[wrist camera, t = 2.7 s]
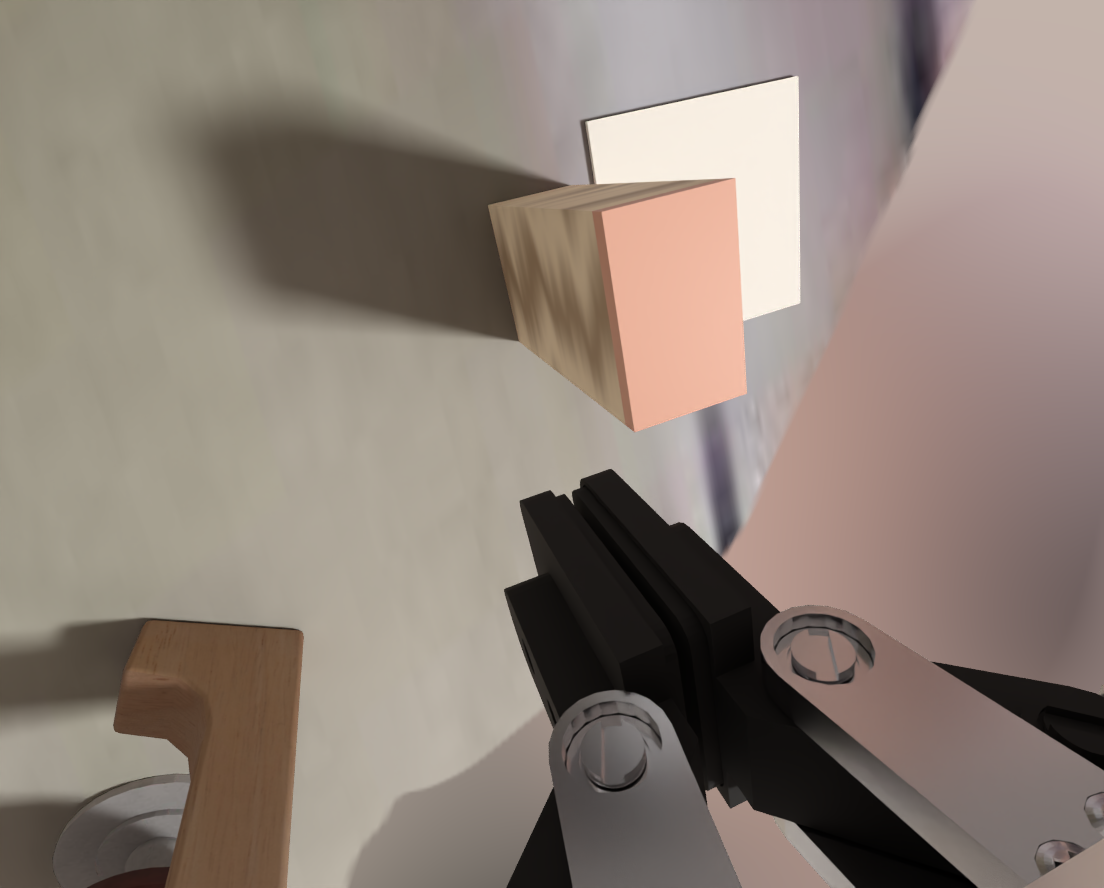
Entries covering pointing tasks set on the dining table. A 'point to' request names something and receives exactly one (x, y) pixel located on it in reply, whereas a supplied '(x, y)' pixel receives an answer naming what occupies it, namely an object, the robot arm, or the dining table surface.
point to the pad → (723, 172)
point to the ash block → (630, 291)
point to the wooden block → (222, 742)
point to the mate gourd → (123, 836)
